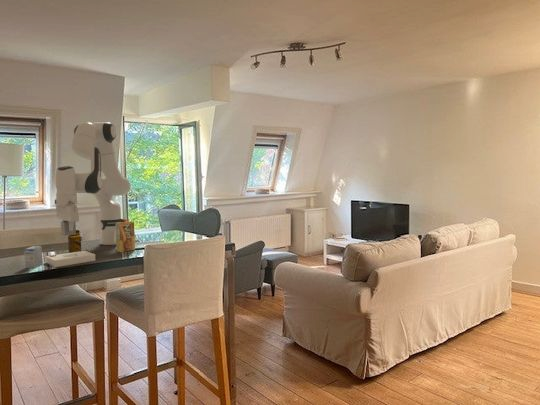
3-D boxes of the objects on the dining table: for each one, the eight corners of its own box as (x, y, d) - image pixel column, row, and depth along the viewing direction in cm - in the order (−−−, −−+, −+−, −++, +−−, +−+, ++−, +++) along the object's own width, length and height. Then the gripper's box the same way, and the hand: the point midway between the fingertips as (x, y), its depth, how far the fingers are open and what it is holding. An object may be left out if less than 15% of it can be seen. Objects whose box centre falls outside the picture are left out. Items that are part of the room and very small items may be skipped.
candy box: (131, 248, 232) (129, 221, 231) (135, 249, 230) (134, 221, 229) (116, 251, 226) (114, 222, 224) (121, 252, 223) (119, 223, 222)
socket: (85, 256, 214) (84, 249, 214) (95, 260, 204) (95, 253, 204) (45, 262, 202) (45, 255, 202) (55, 267, 192) (54, 259, 192)
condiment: (83, 253, 223) (82, 230, 222) (65, 255, 219) (64, 232, 218) (80, 251, 229) (79, 229, 228) (63, 253, 225) (62, 230, 224)
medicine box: (33, 264, 199) (31, 246, 198) (43, 264, 199) (41, 245, 199) (24, 268, 191) (23, 249, 190) (35, 268, 191) (34, 248, 191)
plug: (72, 233, 205) (71, 220, 205) (76, 234, 202) (75, 221, 201) (61, 234, 202) (60, 221, 201) (64, 235, 198) (64, 222, 198)
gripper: (81, 201, 195) (83, 231, 196) (67, 199, 210) (68, 227, 211) (67, 202, 191) (68, 232, 192) (53, 200, 206) (54, 229, 207)
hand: (68, 230), depth 202 cm, fingers closed on plug, 5 cm apart
